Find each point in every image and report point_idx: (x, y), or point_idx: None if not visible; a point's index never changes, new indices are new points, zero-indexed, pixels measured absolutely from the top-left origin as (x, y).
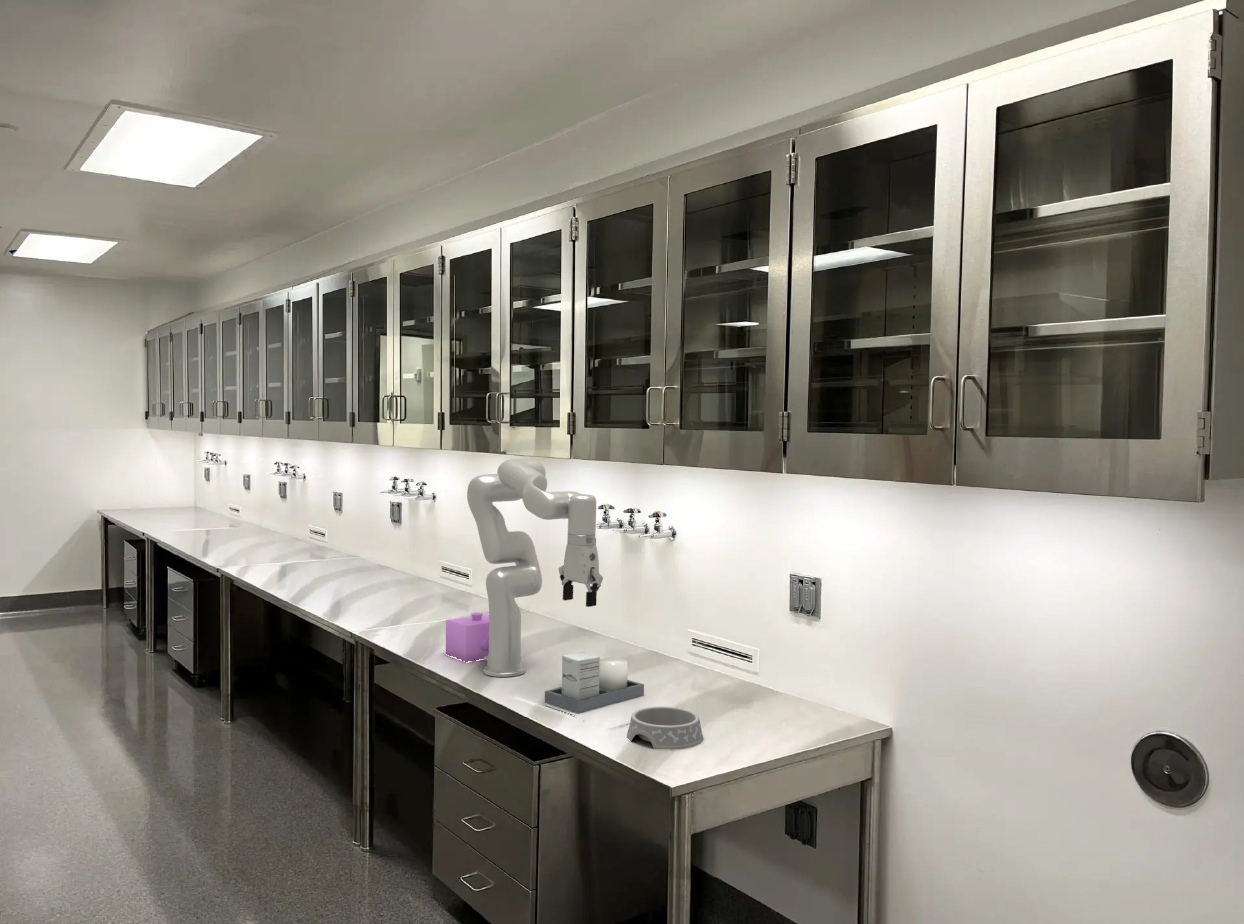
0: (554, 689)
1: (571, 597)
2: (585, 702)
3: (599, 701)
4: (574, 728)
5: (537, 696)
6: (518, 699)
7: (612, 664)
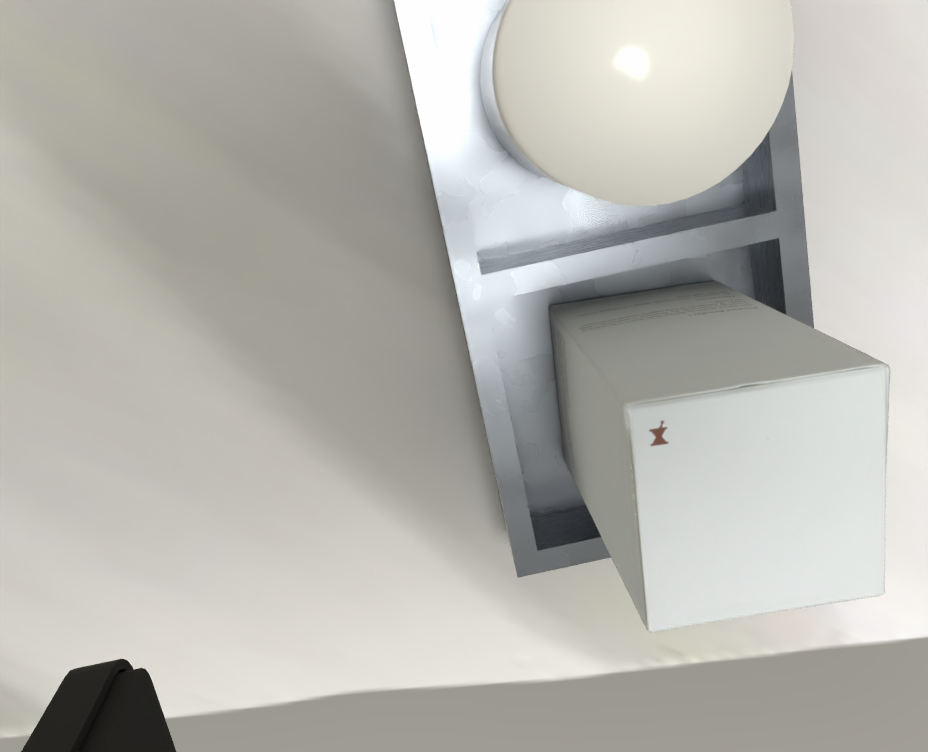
0: (519, 514)
1: (143, 728)
2: None
3: None
4: (917, 562)
5: (305, 485)
6: (310, 600)
7: (745, 131)
